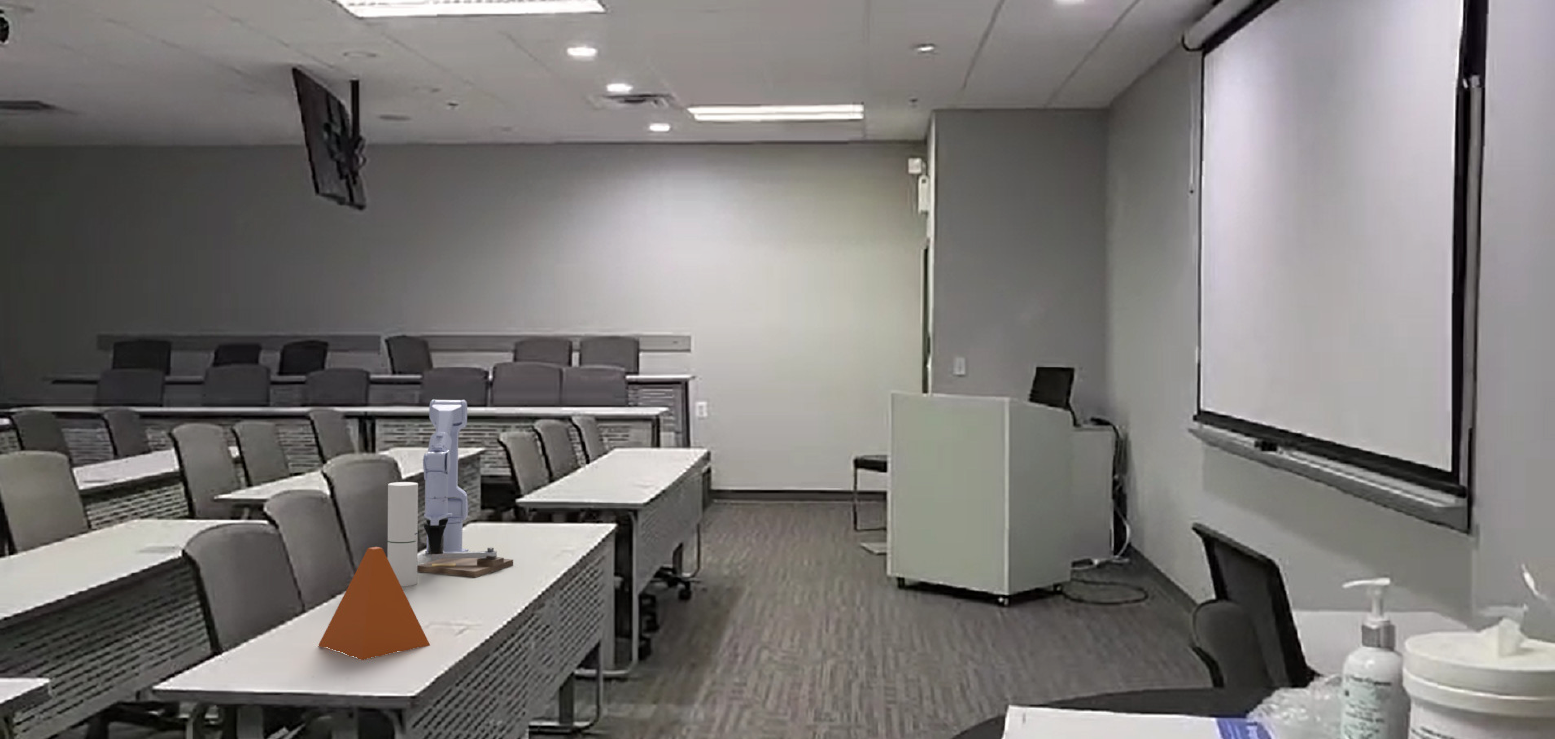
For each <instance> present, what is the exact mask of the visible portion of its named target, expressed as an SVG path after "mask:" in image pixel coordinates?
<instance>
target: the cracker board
mask: <svg viewBox="0 0 1555 739" xmlns="http://www.w3.org/2000/svg"><path fill="white" fill-rule="evenodd" d="M512 566H514V559H510V558H504V557H501V556H500V557H499V556H497V557H496V558H458V559H434V560H432V561H428V562H425V563H422V564H417V573H418V572H419V573H420V572H421V573H429V574H439V575H450V576H459V577H469V578H477V577H480V576H483V575H484V576H485V575H487V574H491V573H494V572H496V571H499V570H500V571H501V570H503V569H505V568H508V567H509V568H510V567H512Z"/></svg>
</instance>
